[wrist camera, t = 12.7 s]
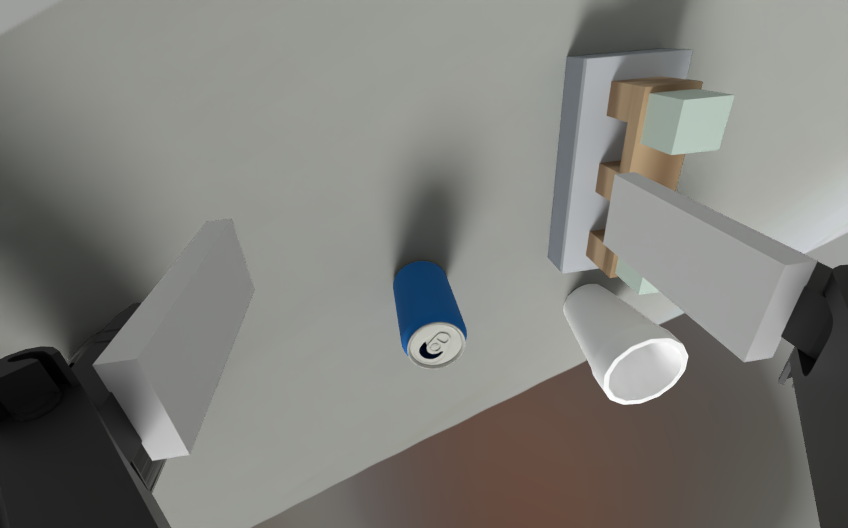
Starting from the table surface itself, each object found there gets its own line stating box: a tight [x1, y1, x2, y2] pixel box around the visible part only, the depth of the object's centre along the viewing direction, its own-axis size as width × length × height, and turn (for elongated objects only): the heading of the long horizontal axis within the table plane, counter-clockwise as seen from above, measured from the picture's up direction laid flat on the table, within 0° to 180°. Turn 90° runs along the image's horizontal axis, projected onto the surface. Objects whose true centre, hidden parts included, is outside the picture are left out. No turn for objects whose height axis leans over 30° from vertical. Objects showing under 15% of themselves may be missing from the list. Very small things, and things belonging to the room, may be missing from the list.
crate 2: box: [640, 89, 735, 155], centre depth 32 cm, size 4×4×4 cm
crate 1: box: [615, 257, 660, 295], centre depth 39 cm, size 4×4×4 cm
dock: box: [548, 48, 693, 274], centre depth 43 cm, size 10×22×4 cm, turn 4°
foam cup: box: [564, 284, 688, 404], centre depth 49 cm, size 10×9×13 cm
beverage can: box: [393, 261, 467, 369], centre depth 44 cm, size 6×6×12 cm
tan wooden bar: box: [586, 76, 703, 278], centre depth 40 cm, size 5×18×5 cm, turn 4°
